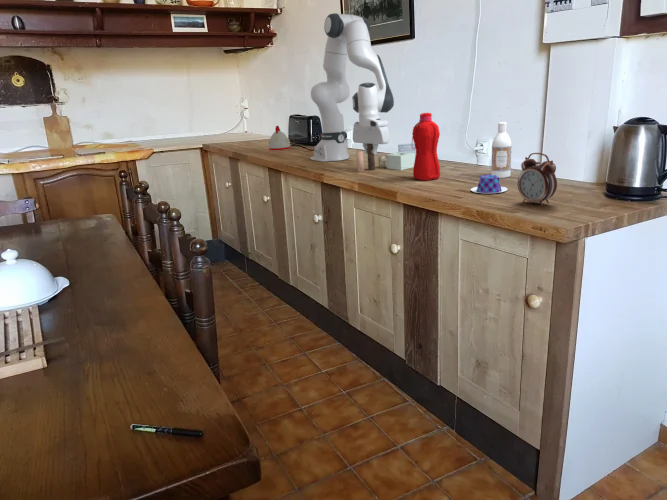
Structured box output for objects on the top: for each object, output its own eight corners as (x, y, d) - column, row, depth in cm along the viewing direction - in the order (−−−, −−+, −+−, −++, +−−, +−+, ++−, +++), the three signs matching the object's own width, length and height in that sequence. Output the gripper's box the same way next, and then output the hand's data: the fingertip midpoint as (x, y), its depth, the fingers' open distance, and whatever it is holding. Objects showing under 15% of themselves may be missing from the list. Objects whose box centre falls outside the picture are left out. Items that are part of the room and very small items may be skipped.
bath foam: (491, 178, 193) (492, 123, 187) (491, 174, 199) (492, 122, 193) (510, 178, 191) (512, 122, 185) (510, 174, 197) (512, 121, 191)
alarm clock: (515, 202, 156) (517, 152, 151) (525, 199, 158) (527, 150, 153) (547, 208, 147) (550, 155, 142) (557, 205, 149) (561, 153, 145)
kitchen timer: (266, 151, 327) (263, 127, 322) (272, 148, 340) (269, 125, 335) (287, 150, 324) (285, 126, 320) (292, 147, 337) (290, 124, 333)
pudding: (489, 197, 166) (489, 181, 164) (462, 191, 176) (463, 176, 174) (515, 191, 171) (516, 175, 170) (488, 186, 181) (488, 171, 180)
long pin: (366, 169, 232) (365, 138, 227) (371, 168, 233) (370, 137, 229) (371, 170, 229) (369, 138, 225) (376, 169, 231) (374, 137, 227)
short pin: (377, 167, 236) (376, 156, 234) (382, 166, 237) (381, 155, 236) (382, 168, 233) (381, 157, 232) (386, 167, 235) (386, 156, 233)
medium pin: (356, 172, 228) (354, 151, 225) (361, 171, 230) (360, 150, 227) (360, 172, 226) (359, 152, 223) (365, 171, 227) (364, 151, 225)
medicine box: (415, 161, 244) (415, 143, 241) (416, 163, 240) (415, 144, 237) (398, 162, 245) (398, 144, 242) (398, 164, 240) (398, 145, 238)
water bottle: (406, 179, 204) (404, 114, 196) (430, 175, 207) (429, 111, 200) (419, 182, 195) (417, 114, 188) (443, 178, 199) (443, 112, 192)
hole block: (386, 168, 232) (386, 154, 230) (400, 165, 237) (400, 152, 235) (401, 169, 225) (400, 156, 223) (415, 166, 230) (414, 153, 228)
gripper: (348, 122, 231) (350, 153, 235) (380, 122, 216) (381, 156, 220) (358, 120, 235) (360, 151, 239) (390, 121, 219) (391, 153, 224)
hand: (370, 153), depth 229 cm, fingers closed on long pin, 3 cm apart
